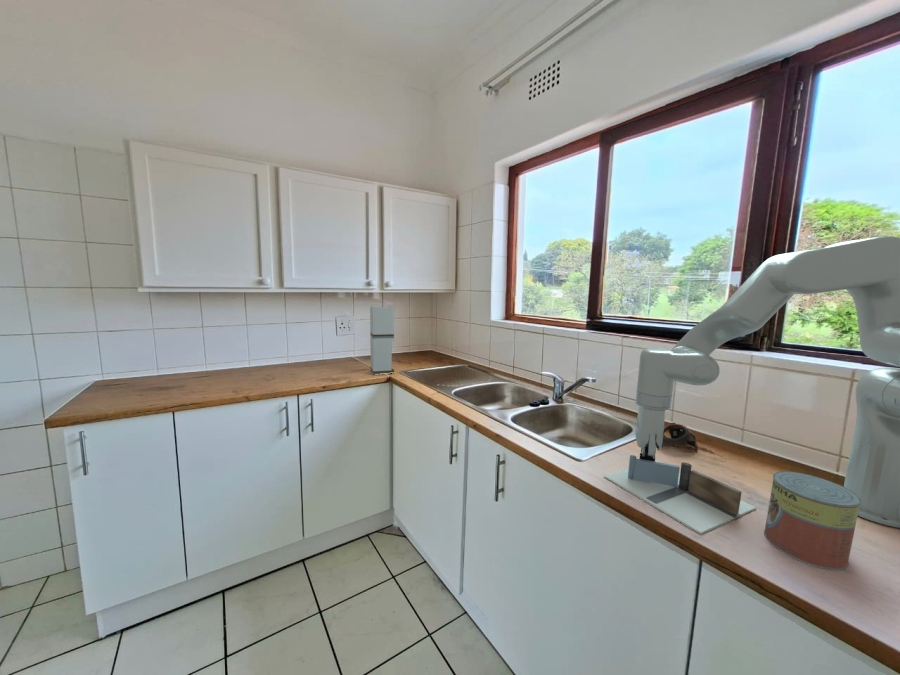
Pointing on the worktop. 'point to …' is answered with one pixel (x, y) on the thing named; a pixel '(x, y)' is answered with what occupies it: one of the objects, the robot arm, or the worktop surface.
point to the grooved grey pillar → (381, 338)
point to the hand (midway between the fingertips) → (646, 470)
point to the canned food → (812, 519)
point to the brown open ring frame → (679, 436)
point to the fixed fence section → (709, 489)
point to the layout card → (679, 503)
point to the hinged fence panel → (653, 472)
